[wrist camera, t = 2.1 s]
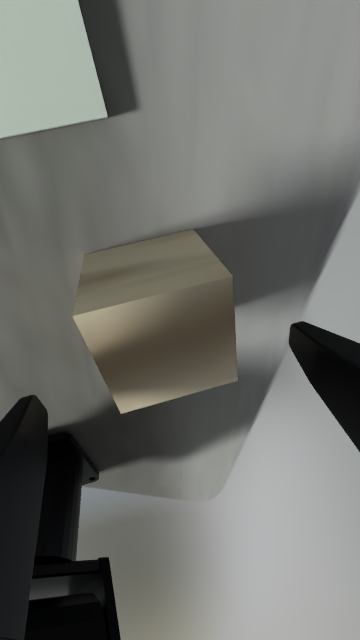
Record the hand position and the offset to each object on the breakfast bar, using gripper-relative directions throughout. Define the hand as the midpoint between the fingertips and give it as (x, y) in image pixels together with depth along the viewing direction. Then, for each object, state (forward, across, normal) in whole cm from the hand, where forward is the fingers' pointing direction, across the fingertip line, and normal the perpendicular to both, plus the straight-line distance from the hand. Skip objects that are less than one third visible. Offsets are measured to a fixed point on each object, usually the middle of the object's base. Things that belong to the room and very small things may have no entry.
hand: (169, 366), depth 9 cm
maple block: (+6, 0, 0) cm, 6 cm away
